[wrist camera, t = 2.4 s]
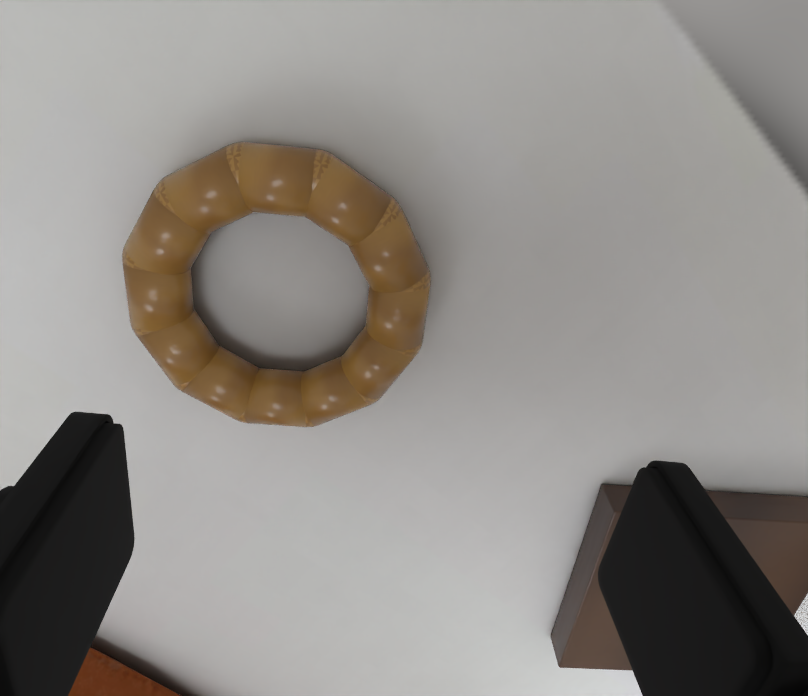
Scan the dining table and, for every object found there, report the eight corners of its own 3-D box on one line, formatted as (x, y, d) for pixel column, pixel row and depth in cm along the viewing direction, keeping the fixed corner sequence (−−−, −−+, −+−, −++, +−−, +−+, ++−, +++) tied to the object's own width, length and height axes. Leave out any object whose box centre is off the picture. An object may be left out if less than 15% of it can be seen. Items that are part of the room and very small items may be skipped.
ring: (443, 156, 17) (449, 169, 15) (409, 413, 21) (412, 445, 19) (122, 123, 16) (93, 134, 15) (153, 395, 20) (133, 427, 19)
